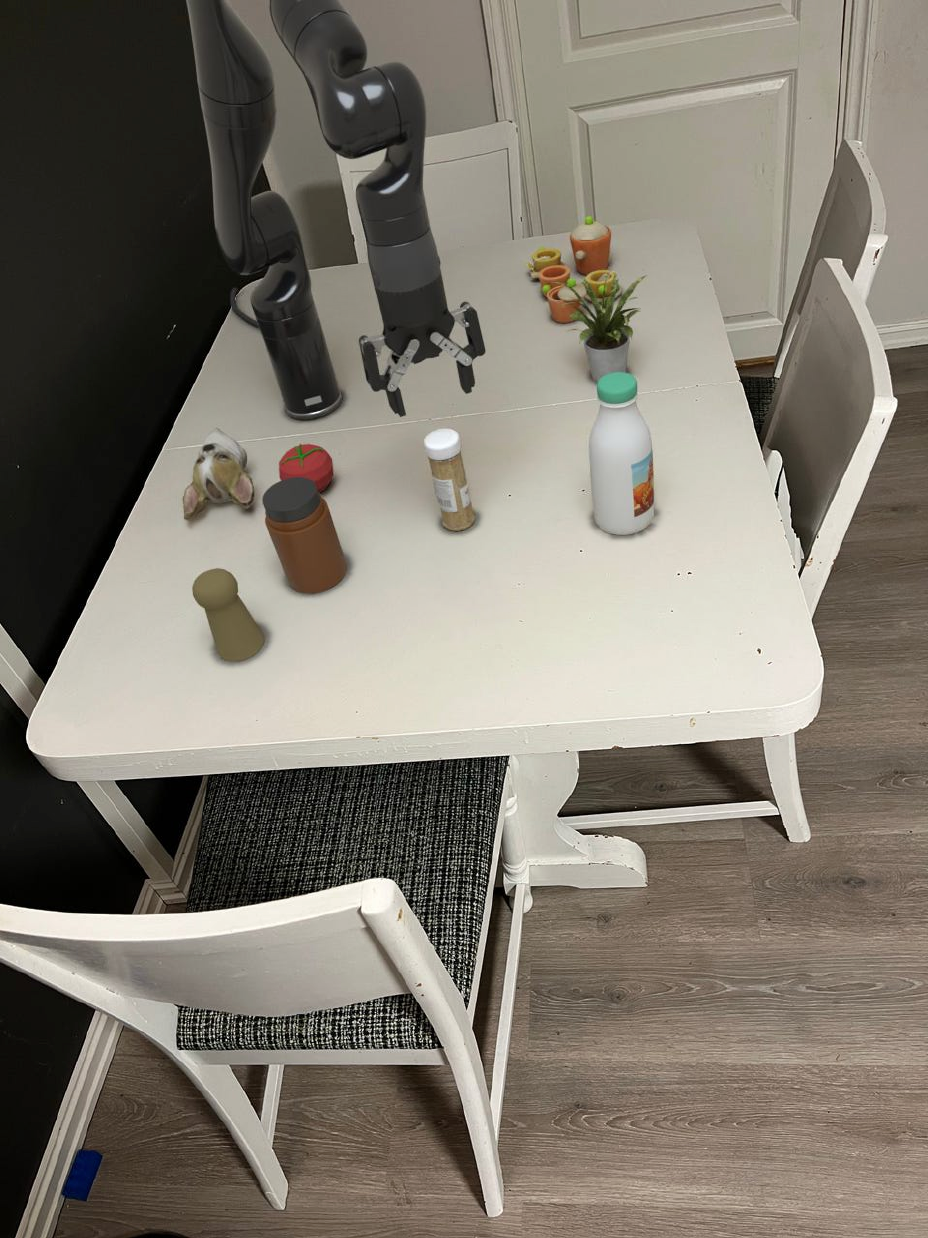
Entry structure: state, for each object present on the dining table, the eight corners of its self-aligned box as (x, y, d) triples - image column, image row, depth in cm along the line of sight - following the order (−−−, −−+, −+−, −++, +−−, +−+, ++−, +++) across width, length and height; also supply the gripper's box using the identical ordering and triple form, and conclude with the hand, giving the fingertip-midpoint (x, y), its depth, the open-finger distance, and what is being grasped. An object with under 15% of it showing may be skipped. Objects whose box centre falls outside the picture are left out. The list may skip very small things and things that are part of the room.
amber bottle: (282, 566, 126) (251, 487, 118) (338, 545, 128) (312, 466, 119) (295, 601, 121) (264, 522, 112) (354, 580, 122) (328, 499, 113)
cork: (219, 631, 119) (188, 565, 111) (266, 622, 119) (237, 556, 111) (214, 665, 115) (181, 600, 107) (263, 657, 114) (233, 590, 107)
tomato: (340, 498, 135) (326, 453, 130) (287, 510, 135) (271, 466, 130) (336, 467, 141) (323, 423, 136) (285, 479, 141) (270, 436, 136)
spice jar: (481, 521, 126) (466, 436, 117) (453, 537, 125) (435, 452, 116) (463, 506, 129) (446, 422, 120) (435, 521, 128) (416, 437, 119)
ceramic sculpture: (246, 411, 140) (238, 474, 129) (265, 457, 146) (259, 521, 136) (176, 424, 140) (163, 488, 130) (198, 470, 147) (187, 534, 136)
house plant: (542, 397, 146) (530, 297, 135) (569, 351, 155) (560, 254, 143) (633, 403, 141) (629, 300, 129) (656, 355, 149) (653, 255, 138)
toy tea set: (525, 267, 180) (519, 216, 173) (606, 252, 179) (603, 200, 172) (545, 331, 161) (539, 277, 154) (636, 314, 160) (634, 258, 153)
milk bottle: (616, 545, 119) (607, 407, 105) (582, 514, 124) (570, 380, 110) (666, 520, 120) (664, 381, 107) (631, 491, 126) (625, 356, 112)
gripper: (455, 242, 107) (477, 370, 118) (336, 280, 105) (370, 407, 116) (478, 265, 102) (499, 396, 113) (354, 305, 100) (387, 435, 111)
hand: (433, 402), depth 114 cm, fingers open, 8 cm apart
